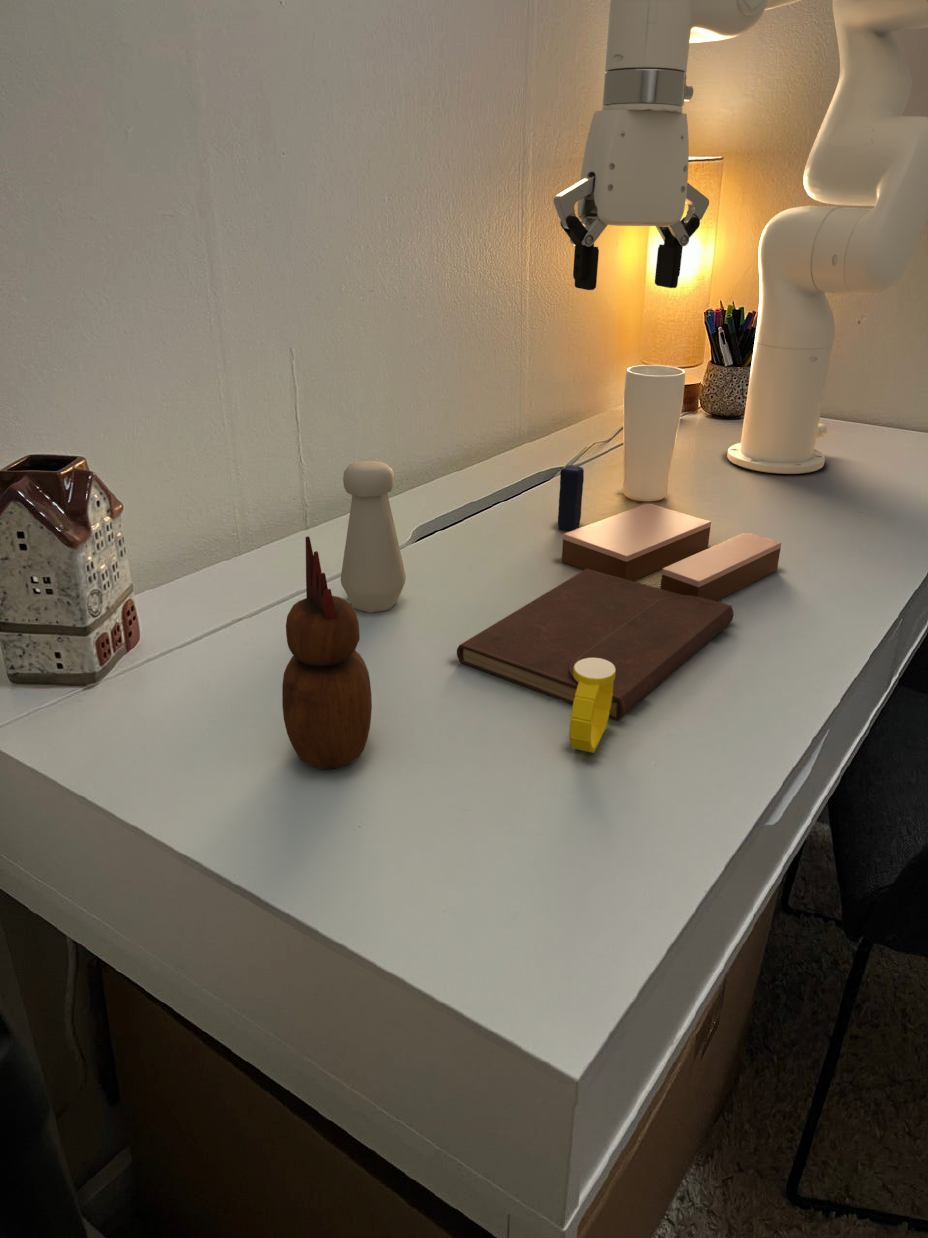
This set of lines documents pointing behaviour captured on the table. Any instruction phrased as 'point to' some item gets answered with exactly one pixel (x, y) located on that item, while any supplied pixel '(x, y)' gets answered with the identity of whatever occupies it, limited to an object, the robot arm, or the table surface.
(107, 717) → the table surface
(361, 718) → the wooden figurine
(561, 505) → the eraser
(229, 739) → the table surface
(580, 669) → the watch
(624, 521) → the brown and tan block
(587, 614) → the notebook
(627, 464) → the drinking glass
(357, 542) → the salt shaker
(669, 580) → the brown long rectangular block
